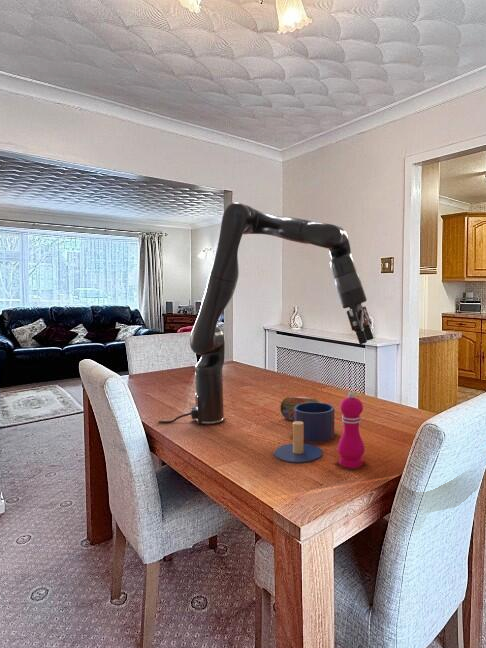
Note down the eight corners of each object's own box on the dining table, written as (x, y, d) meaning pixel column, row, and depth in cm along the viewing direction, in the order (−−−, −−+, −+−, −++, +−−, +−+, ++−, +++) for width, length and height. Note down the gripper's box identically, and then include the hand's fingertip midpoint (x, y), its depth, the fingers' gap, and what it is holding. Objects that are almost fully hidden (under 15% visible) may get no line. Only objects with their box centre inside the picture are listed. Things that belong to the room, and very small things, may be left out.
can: (302, 445, 136) (302, 415, 135) (288, 432, 148) (288, 404, 147) (340, 440, 141) (340, 410, 139) (324, 428, 152) (324, 400, 151)
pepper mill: (335, 459, 126) (335, 388, 123) (361, 458, 126) (362, 388, 124) (339, 470, 119) (340, 395, 116) (367, 469, 119) (368, 395, 116)
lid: (282, 468, 120) (282, 433, 119) (268, 450, 133) (267, 418, 132) (330, 461, 125) (330, 427, 124) (311, 444, 138) (311, 413, 136)
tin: (280, 419, 162) (279, 396, 161) (283, 416, 165) (283, 394, 164) (319, 424, 157) (320, 400, 155) (323, 421, 160) (323, 398, 158)
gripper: (345, 293, 144) (361, 342, 144) (331, 294, 131) (349, 348, 131) (367, 285, 141) (383, 335, 142) (355, 286, 128) (373, 341, 128)
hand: (367, 341), depth 136 cm, fingers open, 8 cm apart
